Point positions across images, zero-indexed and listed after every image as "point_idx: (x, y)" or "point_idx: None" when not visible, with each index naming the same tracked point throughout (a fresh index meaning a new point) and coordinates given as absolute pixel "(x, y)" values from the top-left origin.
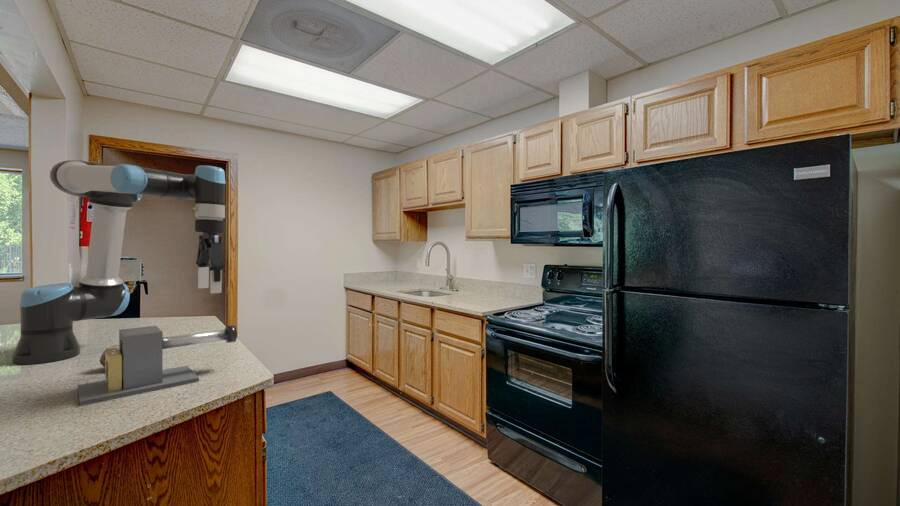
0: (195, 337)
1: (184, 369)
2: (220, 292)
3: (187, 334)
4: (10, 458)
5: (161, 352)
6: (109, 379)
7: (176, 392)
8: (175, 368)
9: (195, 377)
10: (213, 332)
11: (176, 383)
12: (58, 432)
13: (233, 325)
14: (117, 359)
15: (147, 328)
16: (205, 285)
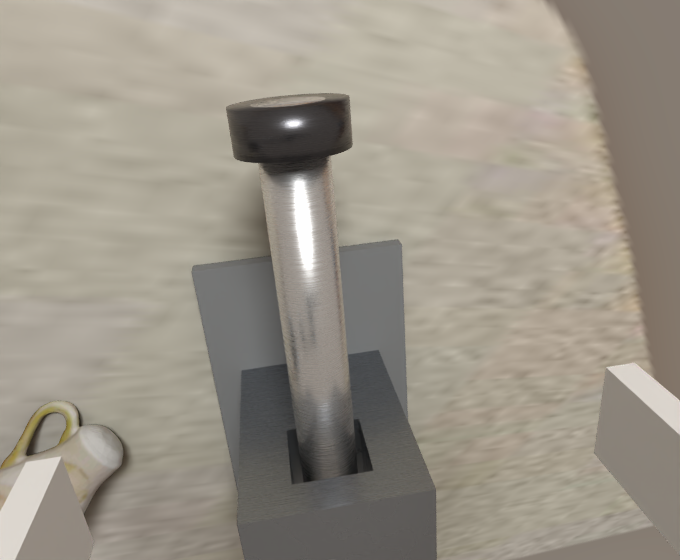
0: (343, 323)
1: (251, 283)
2: (637, 375)
3: (321, 366)
4: (618, 531)
5: (407, 423)
6: None
7: (467, 307)
8: (214, 312)
9: (389, 254)
10: (325, 240)
11: (402, 310)
12: (553, 499)
13: (300, 115)
14: None
15: (299, 547)
16: (61, 512)
